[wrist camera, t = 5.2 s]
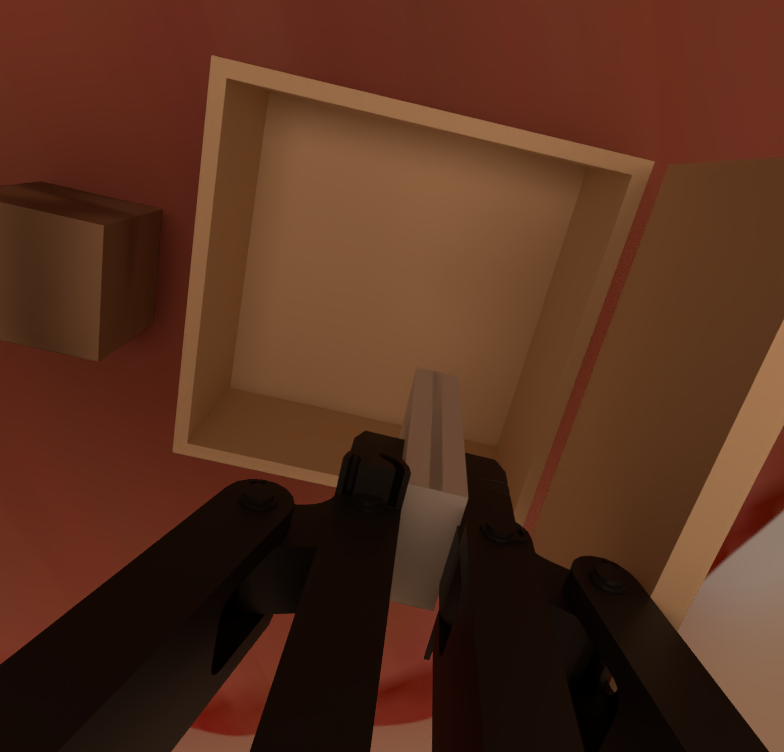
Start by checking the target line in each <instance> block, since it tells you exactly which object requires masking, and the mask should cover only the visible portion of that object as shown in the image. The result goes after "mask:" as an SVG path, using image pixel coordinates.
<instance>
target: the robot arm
mask: <svg viewBox="0 0 784 752" xmlns="http://www.w3.org/2000/svg"><path fill="white" fill-rule="evenodd" d="M507 485H508V482H507V477H506V472H505V471H504V470H503V468H502V467H501V466H500V465H499V464H498V462H497V461H496V460H495V459H490V458H486V457H482V456H478V455H473V454H469V453H465V448H464V435H463V423H462V410H461V397H460V384H459V377H456V376H452V375H448V374H444V373H440V372H435V371H431V370H427V369H423V368H419V367H417V368H416V372H415V376H414V380H413V384H412V388H411V392H410V396H409V400H408V404H407V408H406V411H405V415H404V419H403V423H402V427H401V431H400V435H399V438H395V437H391V436H387V435H382V434H378V433H374V432H370V431H366V430H365V431H364V432H362V433H361V434H359V435H358V436H356V437H355V438H354V441H353V444H352V447H351V450H350V451H348V452H347V453H346V454H345V455H344V457H343V460H342V464H341V469H340V473H339V478H338V482H337V487H336V492H335V495H334V497H332V498H331V499H330V500H327V501H325V502H323V503H318V504H310V505H295V504H294V499H293V496H292V495H291V494H290V493H289V491H288V490H287V489H285V488H284V487H282V486H280V485H278V484H276V483H273V482H269V481H266V480H260V479H259V480H257V479H248V480H242V481H237V482H235V483H233V484H231V485H229V486H227V487H226V488H224V489H223V490H222V491H221V492H219V493H218V494H217V495H216V496H214V497H213V498H212V499H210V500H209V501H208V502H207V503H205V504H204V505H203V506H202V507H200V508H199V509H198V510H196V511H195V512H194V513H193V514H191V515H190V516H189V517H188V518H186V519H185V520H184V521H182V522H181V523H180V524H179V525H177V526H176V527H175V528H174V529H172V530H171V531H170V532H168V533H167V534H166V535H165V536H163V537H162V538H161V539H160V540H158V541H157V542H156V543H154V544H153V545H152V546H151V547H149V548H148V549H147V550H146V551H144V552H143V553H142V554H140V555H139V556H138V557H137V558H135V559H134V560H133V561H132V562H130V563H129V564H128V565H126V566H125V567H124V568H123V569H121V570H120V571H119V572H118V573H116V574H115V575H114V576H112V577H111V578H110V579H109V580H107V581H106V582H105V583H104V584H102V585H101V586H100V587H98V588H97V589H96V590H95V591H93V592H92V593H91V594H90V595H88V596H87V597H86V598H84V599H83V600H82V601H81V602H79V603H78V604H77V605H76V606H74V607H73V608H72V609H70V610H69V611H68V612H67V613H65V614H64V615H63V616H62V617H60V618H59V619H58V620H56V621H55V622H54V623H53V624H51V625H50V626H49V627H48V628H46V629H45V630H44V631H42V632H41V633H40V634H39V635H37V636H36V637H35V638H34V639H32V640H31V641H30V642H29V643H27V644H26V645H25V646H23V647H22V648H21V649H20V650H18V651H17V652H16V653H15V654H13V655H12V656H11V657H9V658H8V659H7V660H6V661H4V662H3V663H2V664H1V665H0V752H171V751H172V750H173V749H174V747H175V746H176V745H177V743H178V742H179V741H180V739H181V738H182V737H183V735H184V734H185V733H186V732H187V730H188V729H189V728H190V726H191V725H192V724H193V723H194V721H195V720H196V719H197V717H198V716H199V715H200V713H201V712H202V711H203V710H204V708H205V707H206V706H207V704H208V703H209V702H210V701H211V699H212V698H213V697H214V695H215V694H216V693H217V691H218V690H219V689H220V688H221V686H222V685H223V684H224V682H225V681H226V680H227V678H228V677H229V676H230V675H231V673H232V672H233V671H234V669H235V668H236V667H237V665H238V664H239V663H240V662H241V660H242V659H243V658H244V656H245V655H246V654H247V652H248V651H249V650H250V649H251V647H252V646H253V645H254V643H255V642H256V641H257V639H258V638H259V637H260V636H261V634H262V633H263V632H264V630H265V629H266V628H267V626H268V625H269V623H270V621H271V619H272V617H273V614H287V613H295V616H294V619H293V622H292V625H291V628H290V632H289V635H288V638H287V641H286V644H285V647H284V650H283V653H282V656H281V659H280V662H279V665H278V668H277V671H276V674H275V677H274V680H273V683H272V686H271V689H270V692H269V695H268V698H267V701H266V704H265V707H264V710H263V713H262V716H261V719H260V722H259V725H258V728H257V731H256V734H255V737H254V740H253V744H252V747H251V749H250V752H370V748H371V740H372V733H373V725H374V717H375V710H376V702H377V694H378V686H379V679H380V671H381V663H382V656H383V648H384V640H385V632H386V625H387V617H388V609H389V601H394V602H397V603H402V604H406V605H410V606H414V607H419V608H423V609H427V610H431V611H433V610H434V607H435V604H436V600H437V597H438V594H439V611H438V614H437V618H436V621H435V624H434V627H433V630H432V633H431V637H430V640H429V643H428V646H427V649H426V653H425V656H424V659H426V660H429V659H430V656H431V653H432V652H433V705H432V752H769V751H768V750H767V749H766V747H765V746H764V745H763V743H762V742H761V741H760V739H759V738H758V737H757V735H756V734H755V733H754V731H753V730H752V729H751V727H750V726H749V725H748V724H747V722H746V721H745V720H744V718H743V717H742V716H741V714H740V713H739V712H738V711H737V709H736V708H735V707H734V705H733V704H732V703H731V702H730V700H729V699H728V698H727V696H726V695H725V694H724V692H723V691H722V690H721V688H720V687H719V686H718V684H717V683H716V682H715V681H714V679H713V678H712V677H711V675H710V674H709V673H708V671H707V670H706V669H705V668H704V666H703V665H702V664H701V662H700V661H699V660H698V658H697V657H696V656H695V654H694V653H693V652H692V651H691V649H690V648H689V647H688V645H687V644H686V643H685V642H684V640H683V639H682V638H681V636H680V635H679V634H678V632H677V631H676V630H675V628H674V627H673V626H672V624H671V623H670V622H669V621H668V619H667V618H666V617H665V615H664V614H663V613H662V611H661V610H660V609H659V608H658V606H657V605H656V604H655V602H654V601H653V600H652V598H650V596H649V594H648V593H647V592H646V591H645V589H644V588H643V587H642V585H641V584H640V583H639V581H638V580H637V579H636V578H635V577H634V576H633V575H632V574H631V573H630V572H628V571H627V570H625V569H624V568H622V567H621V566H619V565H618V564H617V563H615V562H613V561H609V560H608V559H605V558H600V557H595V556H580V557H578V558H577V559H575V560H573V562H572V565H571V567H570V570H569V569H567V568H565V567H562V566H560V565H558V564H556V563H553V562H551V561H549V560H547V559H545V558H543V557H541V556H540V555H538V554H537V553H535V549H534V545H533V541H532V539H531V537H530V535H529V533H528V532H527V531H526V530H525V529H524V528H523V527H522V526H521V525H520V524H518V523H517V522H515V517H514V512H513V507H512V502H511V497H510V496H509V494H510V492H509V487H508V486H507ZM609 672H610V674H611V675H612V677H613V679H614V681H615V683H616V686H617V690H616V692H614V691H613V690H612V688H611V687H610V685H609V683H608V682H607V680H606V678H607V676H608V674H609Z"/></svg>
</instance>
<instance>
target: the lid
mask: <svg viewBox="0 0 784 752" xmlns="http://www.w3.org/2000/svg"><path fill="white" fill-rule="evenodd" d="M783 425H784V157H781V158H765V159H749V160H733V161H718V162H702V163H686V164H670V165H668V167H667V170H666V173H665V176H664V178H663V181H662V184H661V186H660V189H659V192H658V195H657V197H656V200H655V203H654V205H653V208H652V211H651V213H650V216H649V219H648V222H647V224H646V227H645V230H644V232H643V235H642V238H641V241H640V243H639V246H638V249H637V251H636V254H635V257H634V259H633V262H632V265H631V268H630V270H629V273H628V276H627V278H626V281H625V284H624V287H623V289H622V292H621V295H620V297H619V300H618V303H617V305H616V308H615V311H614V314H613V316H612V319H611V322H610V324H609V327H608V330H607V333H606V335H605V338H604V341H603V343H602V346H601V349H600V351H599V354H598V357H597V360H596V362H595V365H594V368H593V370H592V373H591V376H590V379H589V381H588V384H587V387H586V389H585V392H584V395H583V397H582V400H581V403H580V406H579V408H578V411H577V414H576V416H575V419H574V422H573V425H572V427H571V430H570V433H569V435H568V438H567V441H566V443H565V446H564V449H563V452H562V454H561V457H560V460H559V462H558V465H557V468H556V471H555V473H554V476H553V479H552V481H551V484H550V487H549V489H548V492H547V495H546V498H545V500H544V503H543V506H542V508H541V511H540V514H539V517H538V519H537V522H536V525H535V527H534V530H533V533H532V541H533V545H534V549H535V553H537V554H538V555H540V556H541V557H543V558H545V559H547V560H549V561H551V562H553V563H556V564H558V565H560V566H562V567H565V568H567V569H569V570H570V567H571V565H572V562H573V560H575V559H577V558H578V557H580V556H595V557H600V558H605V559H608V560H609V561H613V562H615V563H617V564H618V565H619V566H621V567H622V568H624V569H625V570H627V571H628V572H630V573H631V574H632V575H633V576H634V577H635V578H636V579H637V580H638V581H639V583H640V584H641V585H642V587H643V588H644V589H645V591H646V592H647V593H648V594H649V596H650V598H652V600H653V601H654V602H655V604H656V605H657V606H658V608H659V609H660V610H661V611H662V613H663V614H664V615H665V617H666V618H667V619H668V621H669V622H670V623H671V624H672V626H673V627H674V628H675V630H676V631H678V629H679V627H680V625H681V624H682V621H683V620H684V618H685V616H686V614H687V612H688V609H689V608H690V606H691V604H692V602H693V600H694V598H695V596H696V594H697V592H698V590H699V588H700V587H701V585H702V583H703V581H704V579H705V577H706V575H707V573H708V571H709V569H710V567H711V565H712V563H713V561H714V559H715V557H716V555H717V553H718V552H719V550H720V548H721V546H722V544H723V542H724V540H725V538H726V536H727V534H728V532H729V530H730V528H731V526H732V524H733V522H734V520H735V518H736V516H737V515H738V513H739V511H740V509H741V507H742V505H743V503H744V501H745V499H746V497H747V495H748V493H749V491H750V489H751V487H752V485H753V483H754V481H755V480H756V478H757V476H758V474H759V472H760V470H761V468H762V466H763V464H764V462H765V460H766V458H767V456H768V454H769V452H770V450H771V448H772V446H773V444H774V443H775V441H776V439H777V437H778V435H779V433H780V431H781V429H782V427H783ZM606 680H607V682H608V683H609V685H610V687H611V688H612V690H613V691H614V692H616V690H617V686H616V683H615V681H614V679H613V677H612V675H611V674H610V672H609V674H608V676H607V678H606Z"/></svg>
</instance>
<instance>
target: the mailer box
mask: <svg viewBox="0 0 784 752" xmlns="http://www.w3.org/2000/svg"><path fill="white" fill-rule="evenodd" d="M653 165H654V161H650V160H646V159H642V158H637V157H633V156H629V155H625V154H621V153H617V152H613V151H608V150H604V149H600V148H596V147H592V146H588V145H583V144H579V143H575V142H571V141H567V140H563V139H558V138H554V137H550V136H546V135H542V134H538V133H533V132H529V131H525V130H521V129H517V128H513V127H508V126H504V125H500V124H496V123H492V122H488V121H484V120H479V119H475V118H471V117H467V116H463V115H459V114H454V113H450V112H446V111H442V110H438V109H434V108H429V107H425V106H421V105H417V104H413V103H409V102H404V101H400V100H396V99H392V98H388V97H384V96H379V95H375V94H371V93H367V92H363V91H359V90H354V89H350V88H346V87H342V86H338V85H334V84H330V83H325V82H321V81H317V80H313V79H309V78H305V77H300V76H296V75H292V74H288V73H284V72H280V71H275V70H271V69H267V68H263V67H259V66H255V65H250V64H246V63H242V62H238V61H234V60H230V59H225V58H221V57H217V56H213V55H211V65H210V75H209V85H208V96H207V106H206V116H205V126H204V136H203V146H202V157H201V167H200V177H199V187H198V197H197V208H196V218H195V228H194V238H193V248H192V258H191V269H190V279H189V289H188V299H187V309H186V320H185V330H184V340H183V350H182V360H181V370H180V381H179V391H178V401H177V411H176V421H175V432H174V442H173V452H174V453H178V454H183V455H188V456H192V457H197V458H201V459H206V460H211V461H215V462H220V463H225V464H229V465H234V466H239V467H243V468H248V469H253V470H257V471H262V472H266V473H271V474H276V475H280V476H285V477H290V478H294V479H299V480H304V481H308V482H313V483H317V484H322V485H327V486H331V487H337V482H338V478H339V473H340V469H341V464H342V460H343V457H344V455H345V454H346V453H347V452H348V451H350V450H351V447H352V444H353V441H354V438H355V437H356V436H358V435H359V434H361V433H362V432H364V431H365V430H366V431H370V432H374V433H378V434H382V435H387V436H391V437H395V438H399V435H400V431H401V427H402V423H403V419H404V415H405V411H406V408H407V404H408V400H409V396H410V392H411V388H412V384H413V380H414V376H415V372H416V368H417V367H419V368H423V369H427V370H431V371H435V372H440V373H444V374H448V375H452V376H456V377H459V384H460V397H461V410H462V423H463V435H464V448H465V453H469V454H473V455H478V456H482V457H486V458H490V459H495V460H496V461H497V462H498V464H499V465H500V466H501V467H502V468H503V470H504V471H505V472H506V477H507V482H508V485H507V486H508V487H509V492H510V494H509V496H510V497H511V502H512V507H513V512H514V517H515V522H517V523H518V524H520V525H521V526H522V527H523V525H524V522H525V520H526V517H527V514H528V511H529V508H530V506H531V503H532V500H533V497H534V495H535V492H536V489H537V486H538V483H539V481H540V478H541V475H542V472H543V470H544V467H545V464H546V461H547V459H548V456H549V453H550V450H551V447H552V445H553V442H554V439H555V436H556V434H557V431H558V428H559V425H560V423H561V420H562V417H563V414H564V411H565V409H566V406H567V403H568V400H569V398H570V395H571V392H572V389H573V386H574V384H575V381H576V378H577V375H578V373H579V370H580V367H581V364H582V362H583V359H584V356H585V353H586V350H587V348H588V345H589V342H590V339H591V337H592V334H593V331H594V328H595V326H596V323H597V320H598V317H599V314H600V312H601V309H602V306H603V303H604V301H605V298H606V295H607V292H608V290H609V287H610V284H611V281H612V278H613V276H614V273H615V270H616V267H617V265H618V262H619V259H620V256H621V253H622V251H623V248H624V245H625V242H626V240H627V237H628V234H629V231H630V229H631V226H632V223H633V220H634V217H635V215H636V212H637V209H638V206H639V204H640V201H641V198H642V195H643V193H644V190H645V187H646V184H647V181H648V179H649V176H650V173H651V170H652V168H653Z"/></svg>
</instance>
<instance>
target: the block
mask: <svg viewBox="0 0 784 752" xmlns="http://www.w3.org/2000/svg"><path fill="white" fill-rule="evenodd" d="M161 217H162V209H158V208H154V207H150V206H145V205H141V204H137V203H132V202H128V201H123V200H119V199H115V198H110V197H106V196H102V195H97V194H93V193H89V192H84V191H80V190H76V189H71V188H67V187H63V186H58V185H54V184H49V183H45V182H33V183H24V184H15V185H7V186H0V340H2V341H6V342H11V343H15V344H20V345H24V346H29V347H34V348H38V349H43V350H47V351H52V352H56V353H61V354H65V355H70V356H74V357H79V358H84V359H88V360H93V361H97V362H98V361H100V360H101V359H102V358H104V357H105V356H107V355H108V354H110V353H111V352H113V351H114V350H115V349H117V348H118V347H120V346H121V345H123V344H124V343H126V342H127V341H128V340H130V339H131V338H133V337H134V336H136V335H137V334H139V333H140V332H141V331H143V330H144V329H146V328H147V327H149V326H150V325H152V324H153V320H154V307H155V295H156V282H157V269H158V256H159V243H160V230H161Z"/></svg>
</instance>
